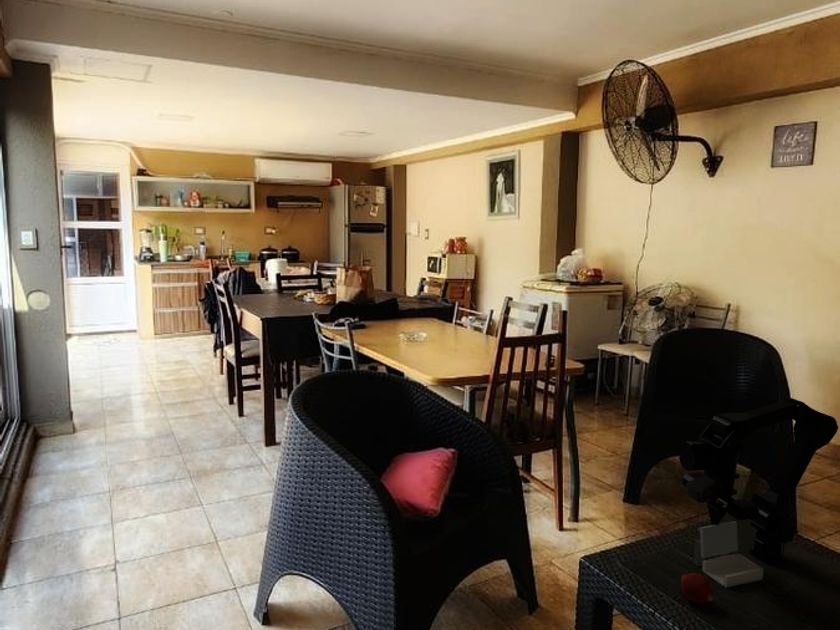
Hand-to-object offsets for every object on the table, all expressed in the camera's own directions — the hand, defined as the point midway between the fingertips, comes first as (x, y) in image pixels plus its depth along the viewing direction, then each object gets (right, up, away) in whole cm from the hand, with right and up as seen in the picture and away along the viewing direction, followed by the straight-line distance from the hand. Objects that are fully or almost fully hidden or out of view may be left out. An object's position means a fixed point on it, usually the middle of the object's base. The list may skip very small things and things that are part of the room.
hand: (714, 526), depth 148 cm
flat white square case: (+1, -9, -3) cm, 10 cm away
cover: (+1, -2, -2) cm, 3 cm away
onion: (-13, -7, -12) cm, 19 cm away
